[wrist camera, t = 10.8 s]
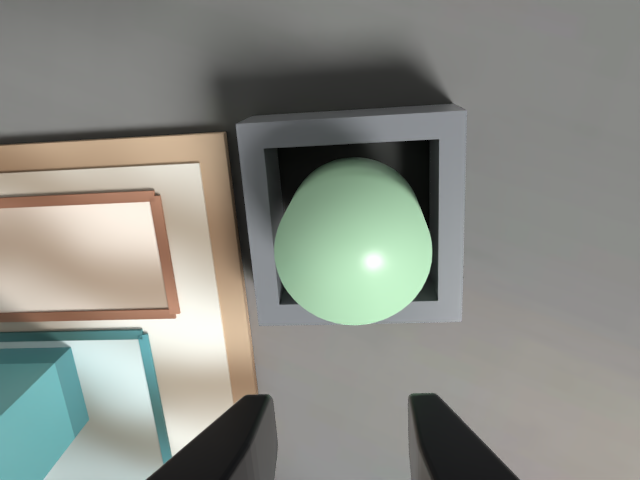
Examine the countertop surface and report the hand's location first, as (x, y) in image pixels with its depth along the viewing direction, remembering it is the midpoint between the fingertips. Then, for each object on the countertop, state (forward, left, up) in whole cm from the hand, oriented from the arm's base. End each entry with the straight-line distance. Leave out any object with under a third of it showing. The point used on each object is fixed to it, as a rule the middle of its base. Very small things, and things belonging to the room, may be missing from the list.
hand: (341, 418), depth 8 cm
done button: (0, 0, -10) cm, 10 cm away
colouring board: (-6, +12, -12) cm, 18 cm away
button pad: (0, 0, -12) cm, 12 cm away
